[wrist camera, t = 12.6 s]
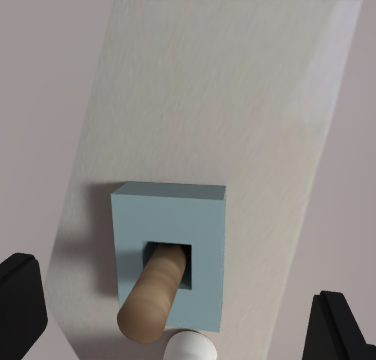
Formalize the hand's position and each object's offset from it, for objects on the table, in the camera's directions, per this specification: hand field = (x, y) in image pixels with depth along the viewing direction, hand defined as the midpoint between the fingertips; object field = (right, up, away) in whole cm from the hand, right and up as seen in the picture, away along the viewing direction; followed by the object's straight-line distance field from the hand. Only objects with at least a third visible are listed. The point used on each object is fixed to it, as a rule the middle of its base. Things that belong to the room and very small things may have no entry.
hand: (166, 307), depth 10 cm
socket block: (-1, -4, +28) cm, 28 cm away
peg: (-1, -4, +28) cm, 28 cm away
